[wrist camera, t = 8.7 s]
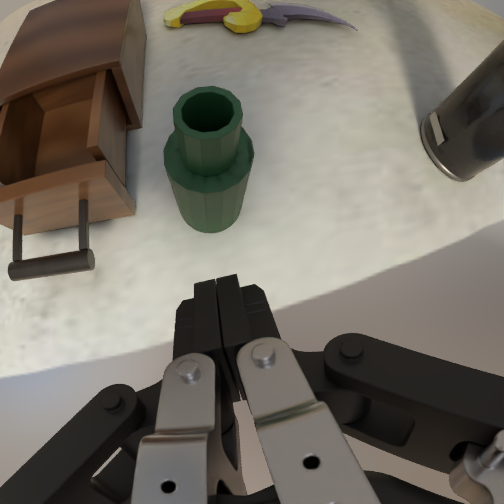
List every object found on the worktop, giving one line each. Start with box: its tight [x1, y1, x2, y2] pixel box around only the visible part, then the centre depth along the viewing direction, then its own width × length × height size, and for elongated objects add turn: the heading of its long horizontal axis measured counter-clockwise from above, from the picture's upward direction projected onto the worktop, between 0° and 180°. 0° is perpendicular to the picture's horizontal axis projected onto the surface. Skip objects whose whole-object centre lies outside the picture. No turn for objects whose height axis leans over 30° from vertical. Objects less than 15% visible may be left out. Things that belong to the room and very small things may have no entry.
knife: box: [164, 0, 359, 33], centre depth 30 cm, size 8×3×25 cm
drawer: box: [0, 69, 135, 281], centre depth 20 cm, size 18×11×8 cm, turn 9°
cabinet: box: [0, 0, 146, 131], centre depth 22 cm, size 15×13×10 cm
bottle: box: [164, 86, 254, 233], centre depth 20 cm, size 5×5×13 cm
